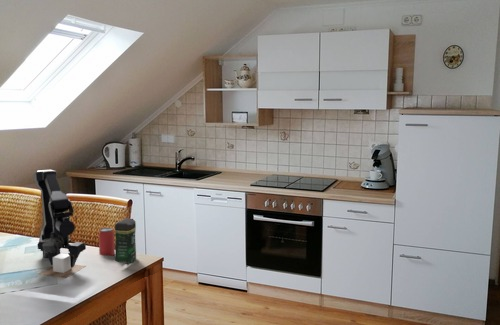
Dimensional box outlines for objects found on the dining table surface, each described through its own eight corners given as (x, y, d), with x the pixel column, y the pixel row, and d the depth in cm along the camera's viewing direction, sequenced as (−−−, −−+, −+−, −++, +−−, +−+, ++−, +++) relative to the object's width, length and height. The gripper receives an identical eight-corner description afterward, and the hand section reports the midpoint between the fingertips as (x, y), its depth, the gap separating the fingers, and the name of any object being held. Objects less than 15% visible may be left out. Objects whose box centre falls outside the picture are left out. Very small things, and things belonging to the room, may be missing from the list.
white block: (53, 271, 181) (52, 257, 180) (61, 266, 186) (60, 253, 185) (63, 272, 180) (63, 258, 179) (71, 268, 185) (71, 254, 184)
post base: (37, 277, 179) (37, 266, 178) (59, 265, 191) (59, 255, 190) (66, 281, 175) (65, 270, 175) (86, 269, 188) (86, 259, 187)
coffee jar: (130, 265, 193) (129, 223, 190) (112, 264, 194) (111, 222, 191) (138, 257, 202) (138, 217, 199) (121, 256, 203) (120, 216, 200)
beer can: (110, 258, 201) (109, 232, 199) (96, 256, 202) (95, 230, 200) (117, 253, 207) (116, 227, 206) (104, 251, 209) (103, 226, 207)
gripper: (26, 232, 175) (28, 270, 177) (67, 237, 170) (69, 276, 173) (46, 224, 186) (48, 261, 188) (85, 228, 181) (87, 266, 183)
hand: (62, 266), depth 183 cm, fingers open, 9 cm apart
